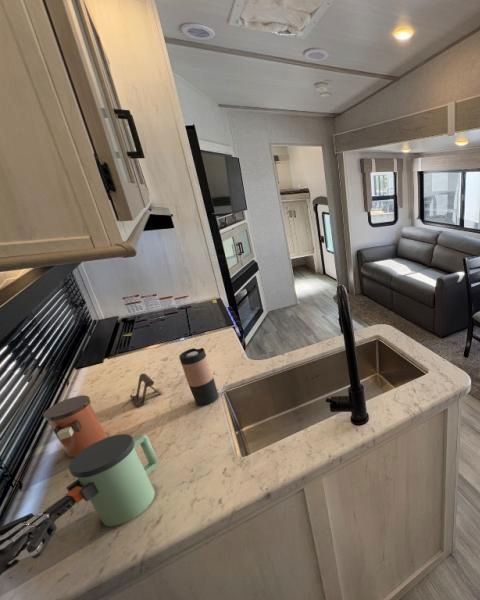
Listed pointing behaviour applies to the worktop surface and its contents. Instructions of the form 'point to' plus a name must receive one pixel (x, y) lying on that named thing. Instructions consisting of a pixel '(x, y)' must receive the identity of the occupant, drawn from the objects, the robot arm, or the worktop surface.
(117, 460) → the sage jug
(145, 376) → the tablet stand
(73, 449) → the terracotta jug
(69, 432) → the button
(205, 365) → the travel mug
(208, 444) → the worktop surface
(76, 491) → the orange cube
